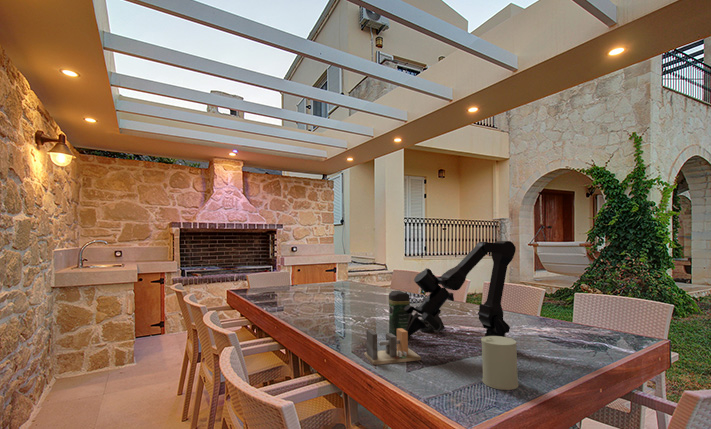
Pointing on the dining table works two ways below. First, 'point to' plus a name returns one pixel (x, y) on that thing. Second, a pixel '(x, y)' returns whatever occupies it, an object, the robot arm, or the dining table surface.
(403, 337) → the plunger
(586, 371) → the dining table surface
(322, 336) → the dining table surface
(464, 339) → the dining table surface
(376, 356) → the wooden base with posts
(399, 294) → the coffee jar
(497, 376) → the can
